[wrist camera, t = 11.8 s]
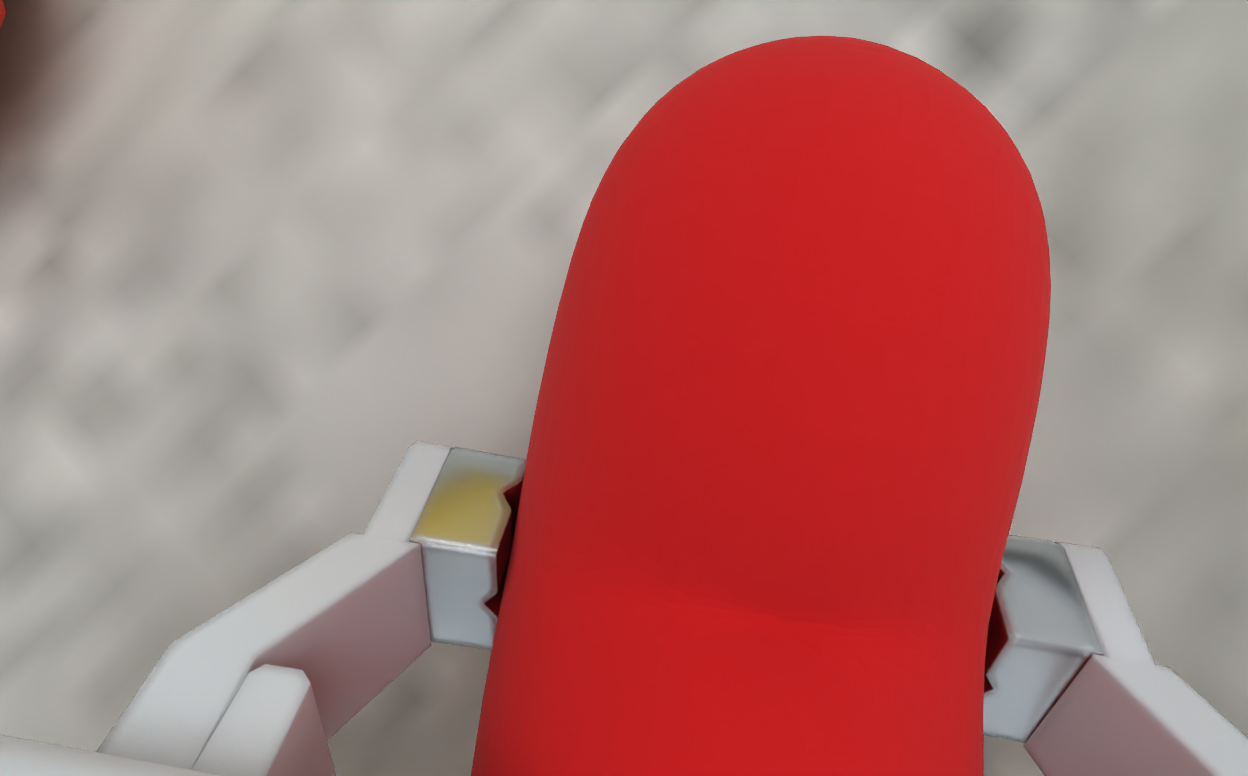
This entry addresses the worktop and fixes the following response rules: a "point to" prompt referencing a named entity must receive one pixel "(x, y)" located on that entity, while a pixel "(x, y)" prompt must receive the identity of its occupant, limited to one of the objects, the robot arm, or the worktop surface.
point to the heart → (777, 433)
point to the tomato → (2, 12)
